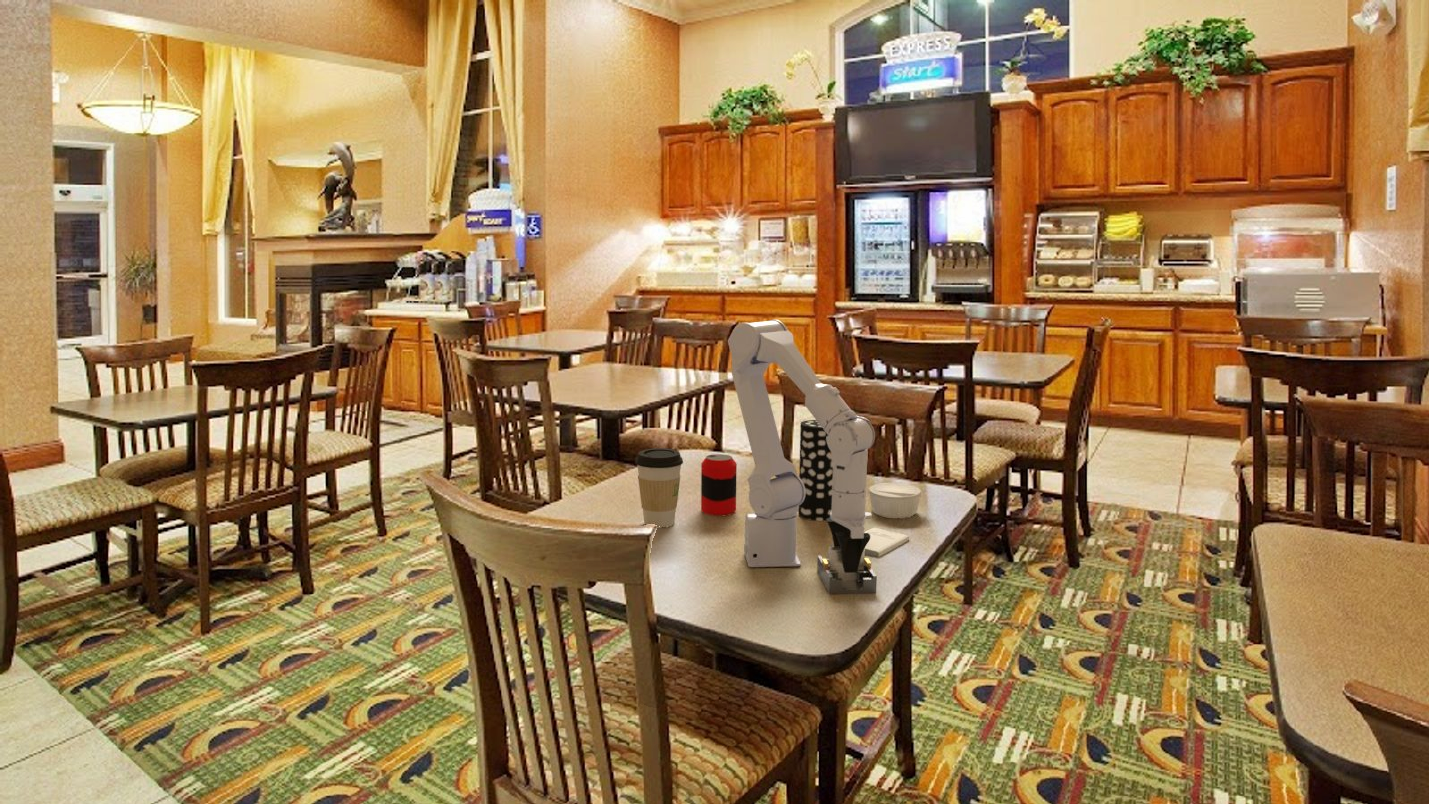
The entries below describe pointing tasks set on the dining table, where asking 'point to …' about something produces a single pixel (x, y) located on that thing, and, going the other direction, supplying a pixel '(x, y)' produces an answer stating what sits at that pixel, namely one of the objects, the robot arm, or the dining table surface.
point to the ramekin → (894, 499)
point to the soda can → (718, 485)
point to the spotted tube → (815, 472)
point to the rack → (839, 586)
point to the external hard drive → (883, 541)
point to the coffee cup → (659, 484)
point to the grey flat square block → (837, 564)
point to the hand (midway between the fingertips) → (846, 565)
